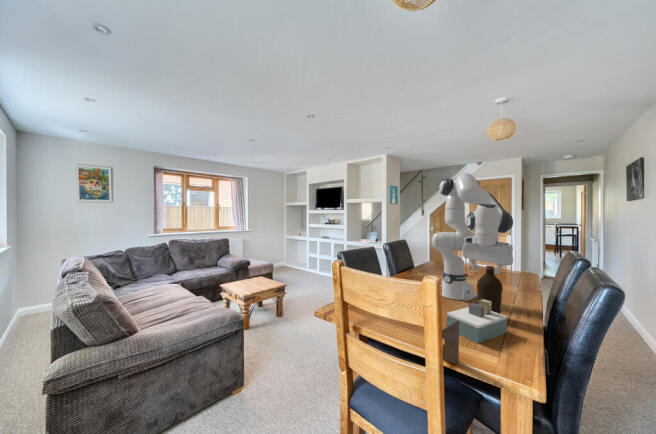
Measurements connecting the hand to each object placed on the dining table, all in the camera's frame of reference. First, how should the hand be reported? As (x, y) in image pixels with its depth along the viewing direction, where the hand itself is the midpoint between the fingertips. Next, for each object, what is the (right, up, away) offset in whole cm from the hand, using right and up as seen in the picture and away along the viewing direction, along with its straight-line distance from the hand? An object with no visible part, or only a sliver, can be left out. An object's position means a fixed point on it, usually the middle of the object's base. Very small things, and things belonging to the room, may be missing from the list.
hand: (485, 271), depth 112 cm
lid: (-5, -19, -2) cm, 20 cm away
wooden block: (-29, -26, -22) cm, 44 cm away
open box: (-6, -25, -2) cm, 26 cm away
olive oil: (+9, -25, +12) cm, 30 cm away
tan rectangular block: (0, -25, +1) cm, 25 cm away
